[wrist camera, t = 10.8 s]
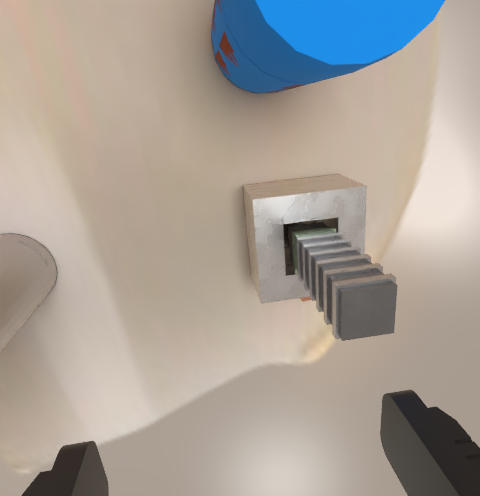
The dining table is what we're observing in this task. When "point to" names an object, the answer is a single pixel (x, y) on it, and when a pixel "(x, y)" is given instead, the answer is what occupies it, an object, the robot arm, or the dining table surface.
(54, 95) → the dining table surface
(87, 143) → the dining table surface
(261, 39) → the thermos
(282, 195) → the housing
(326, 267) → the column
